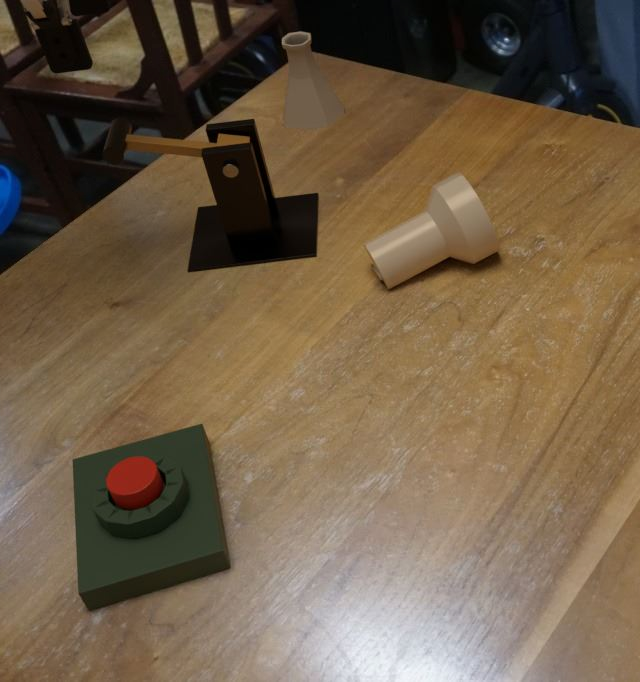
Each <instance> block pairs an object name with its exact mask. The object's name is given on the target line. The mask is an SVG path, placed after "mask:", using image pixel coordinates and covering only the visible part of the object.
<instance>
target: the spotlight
mask: <svg viewBox="0 0 640 682" xmlns="http://www.w3.org/2000/svg"><path fill="white" fill-rule="evenodd" d="M362 244H363V247H364V250H365V253H366V254H367V257H368V258H369V259H370V262H371V264H372V266H373V267H372V269H373V271H374V273H375V274H376V276H377V277H378V279H379V280H380V281H383V283H384V285H385V286H386V288H387V289H388V290H391V289H392V288H395V287H396V286H398V285H400V284H402V283H404V282H405V281H408V280H410V279H412V278H413V277H415V276H417V275H419V274H421V273H422V272H425V271H427V270H428V269H430V268H432V267H434V266H436V265H438V264H440V263H441V262H443V261H445V260H446V259H449V258H452V259H454V260H458V261H460V262H464V263H466V264H471V265H475V264H477V263H478V262H480V261H481V262H482V260H484V259H486V258H488V257H490V256H493V254H495V253H497V252H499V251H500V250H501V245H500V240H499V238H498V234H497V231H496V229H495V227H494V225H493V223H492V220H491V217H490V215H489V213H488V211H487V209H486V207H485V205H484V203H483V202H482V200H481V199H480V197H479V196H478V194H477V193H476V191H475V190H474V188H473V187H472V185H471V183H470V182H469V181H468V180H467V179H466V178H465V176H464V174H461V173H460V172H455V173H454V174H452V175H450V176H448V177H446V178H444V179H442V180H441V181H439V182H436V183H435V184H433V185H432V186H431V188H430V192H429V195H428V198H427V202H426V206H425V209H424V211H422V212H420V213H418V214H416V215H414V216H412V217H411V218H409V219H406V220H405V221H403V222H401V223H399V224H398V225H395V226H393V227H392V228H389V229H388V230H386V231H384V232H382V233H380V234H379V235H376V236H375V237H373V238H371V239H369V240H367V241H366V242H364V243H362Z"/></svg>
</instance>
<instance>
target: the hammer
mask: <svg viewBox="0 0 640 682" xmlns="http://www.w3.org/2000/svg"><path fill="white" fill-rule="evenodd" d="M132 130H133V126H132V123H131V122H130V121H129V120H127V118H124V117H116V118H114V119H112V121H111V123H110V126H109V130H108V134H107V137H106V140H105V144H104V147H103V150H102V153H101V154H102V158H103V161H105V162H106V163H107V164H108V165H111V166H112V165H113V166H118V165H121V164H122V163H123V162H124V160H125V157H126V153H127V151H133V152H142V153H144V152H145V153H155V154H163V155H174V156H175V155H176V156H183V157H184V156H185V157H193V158H194V157H195V158H202V155H201V153H202V148H208V147H216V146H225V145H233V144H242V143H250V137H246V136H237V135H227V134H218V140H217V143H209V141H208V142H207V141H206V142H205V141H197V140H189V139H188V140H187V139H179V138H178V139H177V138H169V137H168V138H167V137H159V136H148V135H140V134H139V135H138V134H132Z"/></svg>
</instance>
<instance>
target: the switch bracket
mask: <svg viewBox="0 0 640 682" xmlns="http://www.w3.org/2000/svg"><path fill="white" fill-rule="evenodd" d="M205 133H206V137H207V141H208V143H217V140H218V134H227V135H237V136H246V137H250V143H242V144H233V145H225V146H216V147H208V148H202V153H201V155H202V157H201V158H202V161H203V165H204V168H205V171H206V174H207V177H208V181H209V184H210V187H211V191H212V193H213V197H214V201H215V203H216V204H213V205H205V206H198V207H197V210H196V212H197V213H196V217H195V222H194V229H193V236H192V241H191V247H190V253H189V259H188V265H187V273H196V272H205V271H211V270H221V269H230V268H238V267H246V266H253V265H261V264H270V263H278V262H286V261H295V260H302V259H310V258H317V257H318V232H319V230H318V228H319V227H318V226H319V197H320V195H319V192H312V193H303V194H295V195H287V196H278V197H276V195H275V192H274V188H273V183H272V180H271V176H270V172H269V169H268V166H267V161H266V158H265V154H264V149H263V146H262V142H261V139H260V135H259V131H258V127H257V124H256V120H255V118H247V119H239V120H230V121H223V122H214V123H207V124H205Z"/></svg>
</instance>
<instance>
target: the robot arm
mask: <svg viewBox="0 0 640 682" xmlns="http://www.w3.org/2000/svg"><path fill="white" fill-rule="evenodd" d="M19 1H20V3H21V4H22V6H23V9H24V15H25V16H26V17H27V18H28V19H29V23H30V26H31V28H32V30H33V31H34V32H35V35H36V38H37V40H38V43H39V45H40V47H41V51H42V53H43V55H44V57H45V60H46V63H47V65H48V68H49V69H50V71H51V73H53V74H65V73H71V72H80V71H87V70H91V69H92V67H93V64H94V61H93V59H92V56H91V53H90V50H89V47H88V45H87V41H86V40H85V37H84V34H83V32H82V29H81V27H80V26H81V25H80V23H79V21H78V19H77V18H72V16H73V17H83V16H90V15H98V14H106V13H108V12H109V11H110V8H111V4H110V1H109V0H56V4H57V6H56V5H55V4H54V3H53V2H52V1H51V0H19Z"/></svg>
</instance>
